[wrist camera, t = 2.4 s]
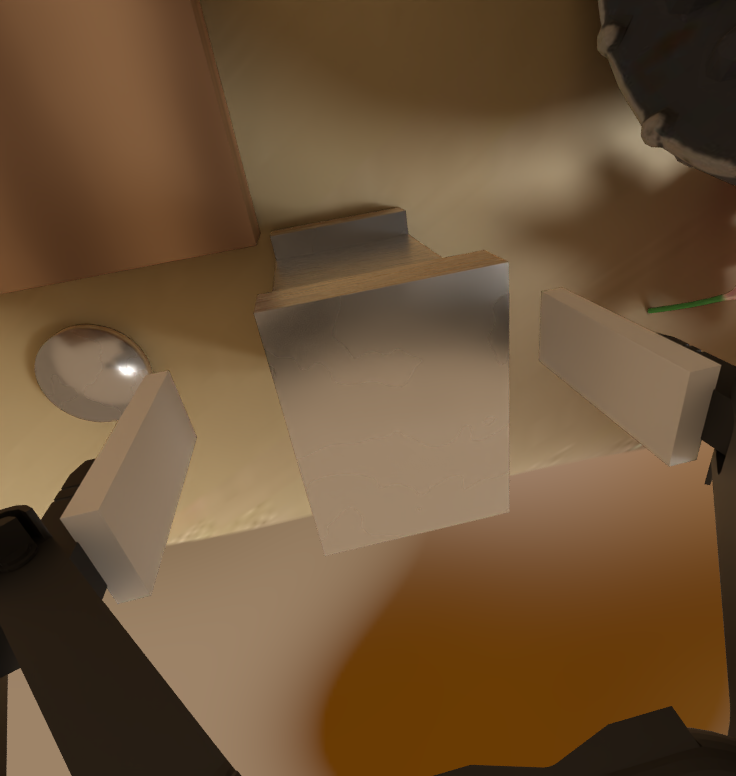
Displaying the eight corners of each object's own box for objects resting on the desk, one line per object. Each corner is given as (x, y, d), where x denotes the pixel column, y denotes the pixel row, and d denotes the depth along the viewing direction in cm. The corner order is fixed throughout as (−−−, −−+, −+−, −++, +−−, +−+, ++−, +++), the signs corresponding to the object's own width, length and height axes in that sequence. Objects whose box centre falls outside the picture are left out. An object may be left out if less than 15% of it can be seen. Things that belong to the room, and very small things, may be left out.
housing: (398, 207, 21) (508, 261, 10) (415, 360, 25) (509, 512, 14) (271, 231, 21) (253, 312, 10) (309, 382, 24) (324, 555, 14)
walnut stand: (149, -189, 14) (118, -266, 12) (260, 233, 20) (256, 245, 18) (-289, -133, 13) (-429, -203, 11) (-34, 288, 20) (-83, 309, 17)
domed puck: (130, 312, 22) (123, 319, 21) (169, 400, 24) (164, 410, 23) (24, 333, 21) (12, 341, 20) (74, 420, 24) (66, 431, 23)
